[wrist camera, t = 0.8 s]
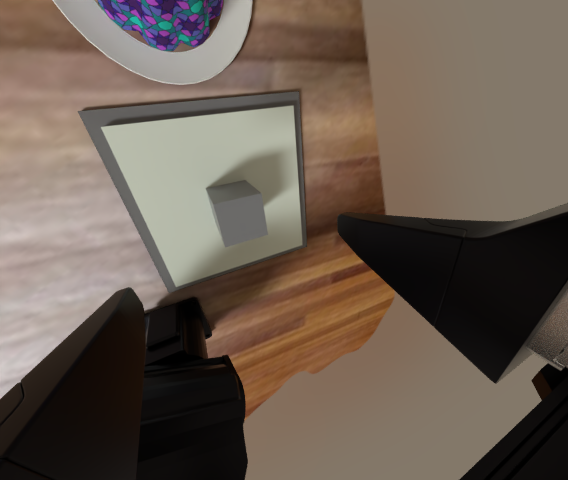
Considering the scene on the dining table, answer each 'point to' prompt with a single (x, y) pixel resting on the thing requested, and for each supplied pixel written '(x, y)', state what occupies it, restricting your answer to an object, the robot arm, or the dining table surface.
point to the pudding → (163, 34)
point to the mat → (173, 111)
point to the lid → (214, 187)
